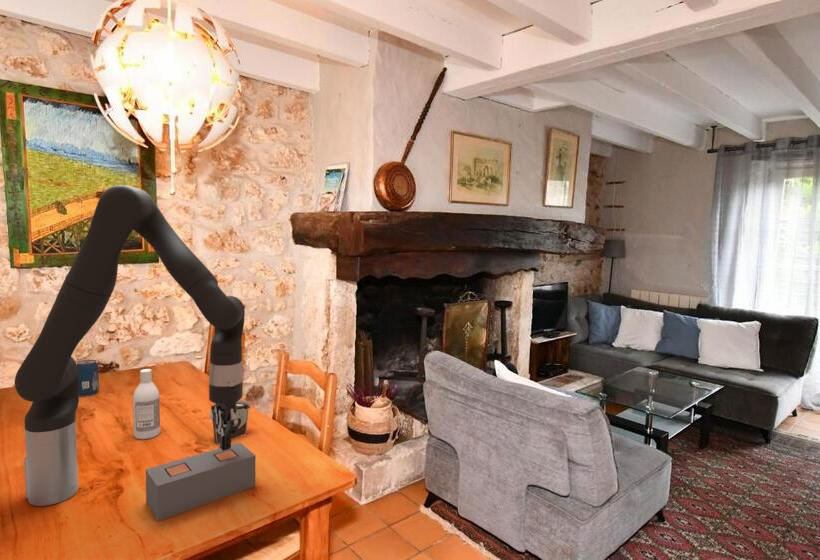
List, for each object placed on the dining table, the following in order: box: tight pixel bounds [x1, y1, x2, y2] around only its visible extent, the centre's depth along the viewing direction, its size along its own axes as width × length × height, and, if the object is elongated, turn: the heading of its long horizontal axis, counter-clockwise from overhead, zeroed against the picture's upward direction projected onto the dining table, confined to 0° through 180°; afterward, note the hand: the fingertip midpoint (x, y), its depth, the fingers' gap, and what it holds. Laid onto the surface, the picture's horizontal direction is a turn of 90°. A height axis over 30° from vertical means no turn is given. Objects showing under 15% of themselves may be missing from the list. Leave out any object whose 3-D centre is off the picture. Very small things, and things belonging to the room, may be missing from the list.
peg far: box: [215, 450, 237, 462], centre depth 115 cm, size 4×4×8 cm
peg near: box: [166, 464, 190, 477], centre depth 108 cm, size 4×4×8 cm
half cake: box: [209, 400, 251, 445], centre depth 142 cm, size 12×6×10 cm, turn 141°
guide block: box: [145, 442, 257, 522], centre depth 112 cm, size 22×9×8 cm, turn 133°
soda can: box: [76, 359, 100, 397], centre depth 171 cm, size 7×7×12 cm
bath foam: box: [132, 368, 161, 440], centre depth 140 cm, size 7×7×20 cm
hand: (225, 448), depth 115 cm, fingers closed
